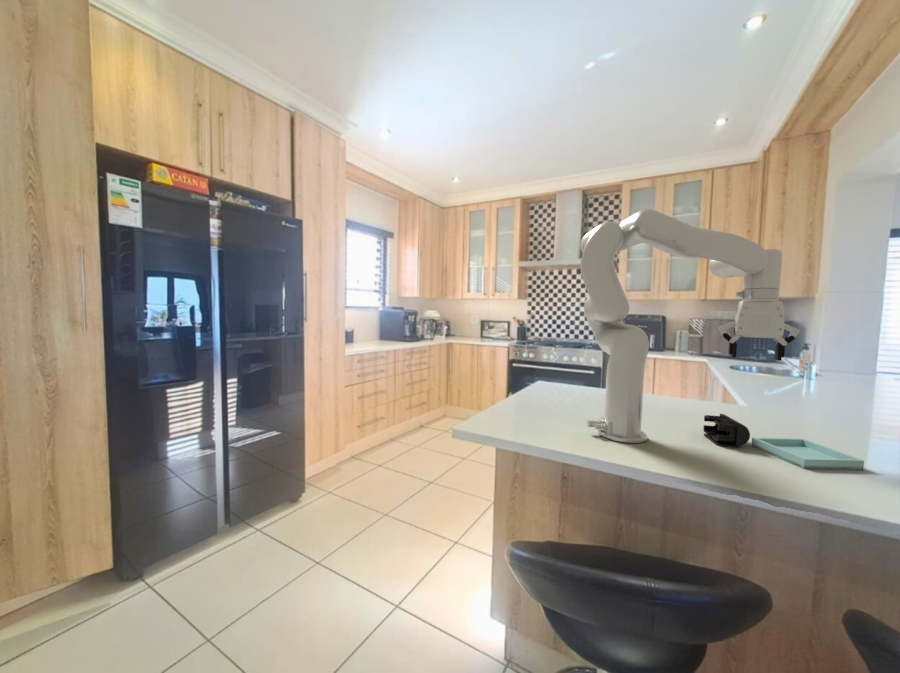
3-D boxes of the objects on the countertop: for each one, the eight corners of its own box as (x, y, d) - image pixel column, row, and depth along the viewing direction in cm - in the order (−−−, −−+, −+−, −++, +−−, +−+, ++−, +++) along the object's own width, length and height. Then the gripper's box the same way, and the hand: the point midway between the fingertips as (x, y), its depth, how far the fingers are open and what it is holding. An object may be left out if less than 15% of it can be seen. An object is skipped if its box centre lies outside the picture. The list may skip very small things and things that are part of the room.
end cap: (749, 450, 95) (751, 424, 95) (718, 447, 97) (719, 421, 96) (730, 437, 105) (732, 414, 104) (702, 434, 107) (703, 412, 106)
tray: (803, 468, 84) (804, 459, 83) (751, 445, 98) (752, 437, 98) (863, 470, 84) (864, 460, 83) (802, 446, 98) (802, 438, 98)
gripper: (723, 295, 100) (718, 357, 101) (808, 295, 92) (801, 362, 93) (718, 296, 107) (714, 354, 108) (797, 296, 99) (791, 359, 100)
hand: (754, 358), depth 101 cm, fingers open, 9 cm apart
